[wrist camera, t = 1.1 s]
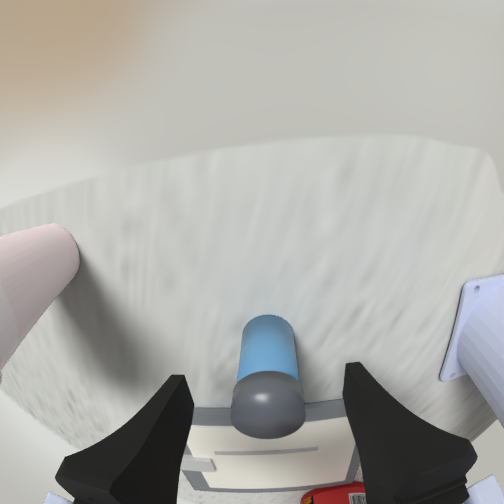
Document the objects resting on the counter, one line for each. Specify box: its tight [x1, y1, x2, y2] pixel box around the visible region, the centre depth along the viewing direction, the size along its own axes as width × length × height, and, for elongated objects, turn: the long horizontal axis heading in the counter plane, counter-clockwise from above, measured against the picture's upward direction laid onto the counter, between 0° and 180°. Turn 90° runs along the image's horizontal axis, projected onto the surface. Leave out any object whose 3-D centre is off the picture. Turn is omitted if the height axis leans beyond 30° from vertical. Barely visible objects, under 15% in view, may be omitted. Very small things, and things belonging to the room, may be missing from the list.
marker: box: [230, 315, 306, 439], centre depth 13 cm, size 3×3×6 cm
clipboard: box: [180, 399, 360, 493], centre depth 20 cm, size 18×14×1 cm
